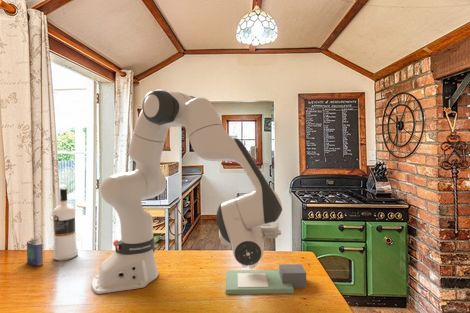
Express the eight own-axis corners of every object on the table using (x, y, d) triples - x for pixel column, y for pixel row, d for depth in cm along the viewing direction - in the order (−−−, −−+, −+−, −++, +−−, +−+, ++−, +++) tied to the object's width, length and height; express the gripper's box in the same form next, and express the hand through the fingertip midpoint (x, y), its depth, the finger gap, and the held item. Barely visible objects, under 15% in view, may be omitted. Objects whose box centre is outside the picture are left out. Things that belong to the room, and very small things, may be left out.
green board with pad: (225, 294, 93) (225, 278, 93) (226, 274, 107) (226, 261, 107) (309, 293, 93) (309, 277, 93) (299, 273, 107) (299, 260, 107)
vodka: (82, 255, 127) (80, 187, 126) (60, 262, 119) (57, 190, 118) (70, 251, 132) (68, 186, 131) (48, 258, 124) (46, 189, 123)
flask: (44, 264, 118) (43, 238, 117) (36, 267, 115) (35, 241, 115) (32, 260, 122) (31, 235, 122) (24, 263, 120) (23, 237, 119)
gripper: (281, 225, 89) (277, 214, 103) (216, 224, 90) (220, 214, 104) (282, 245, 90) (277, 231, 103) (216, 244, 91) (220, 231, 105)
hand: (248, 223), depth 104 cm, fingers closed on water bottle, 7 cm apart
